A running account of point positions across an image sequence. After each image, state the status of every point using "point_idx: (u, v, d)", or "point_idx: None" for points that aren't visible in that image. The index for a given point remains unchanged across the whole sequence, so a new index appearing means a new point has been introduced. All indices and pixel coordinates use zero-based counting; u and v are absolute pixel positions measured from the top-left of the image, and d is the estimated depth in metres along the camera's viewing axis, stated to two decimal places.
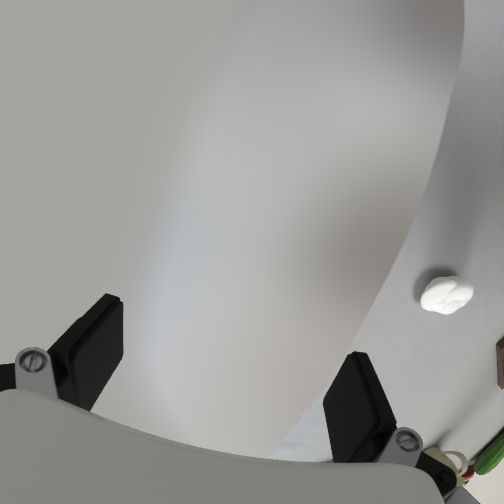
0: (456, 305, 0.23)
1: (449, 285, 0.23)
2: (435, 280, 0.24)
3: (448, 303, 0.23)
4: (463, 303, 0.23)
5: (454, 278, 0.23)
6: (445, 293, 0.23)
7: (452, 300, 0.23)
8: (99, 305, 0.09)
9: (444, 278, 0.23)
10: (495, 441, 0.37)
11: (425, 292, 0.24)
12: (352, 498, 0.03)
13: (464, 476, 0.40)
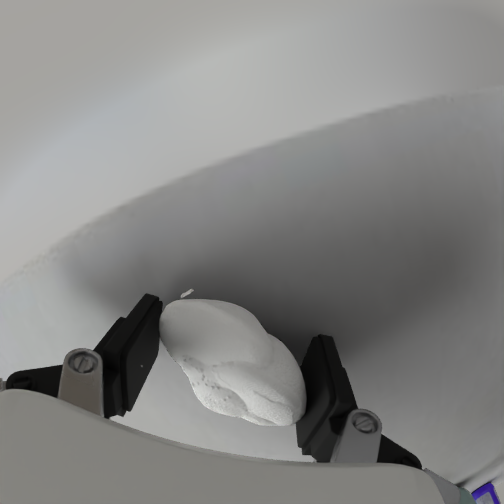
0: (230, 408, 0.09)
1: (246, 346, 0.08)
2: (229, 304, 0.09)
3: (213, 385, 0.09)
4: (252, 419, 0.09)
5: (279, 349, 0.09)
6: (220, 355, 0.08)
7: (227, 389, 0.09)
8: (142, 305, 0.10)
9: (252, 320, 0.09)
10: None
11: (180, 302, 0.09)
12: (352, 498, 0.03)
13: None
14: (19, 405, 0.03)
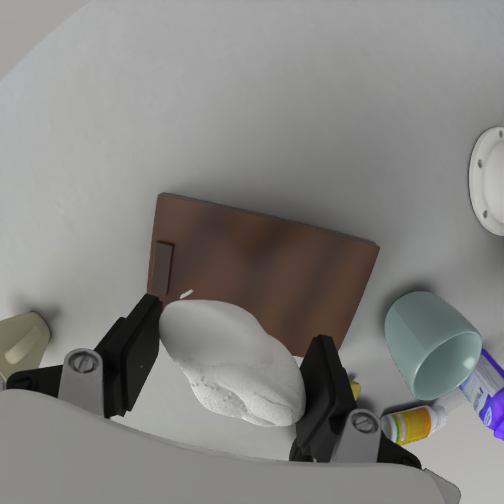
0: (230, 408, 0.09)
1: (245, 347, 0.08)
2: (229, 305, 0.09)
3: (212, 385, 0.09)
4: (251, 420, 0.09)
5: (278, 350, 0.09)
6: (219, 355, 0.08)
7: (226, 389, 0.09)
8: (142, 305, 0.10)
9: (252, 321, 0.09)
10: None
11: (179, 303, 0.09)
12: (352, 498, 0.03)
13: None
14: (19, 405, 0.03)
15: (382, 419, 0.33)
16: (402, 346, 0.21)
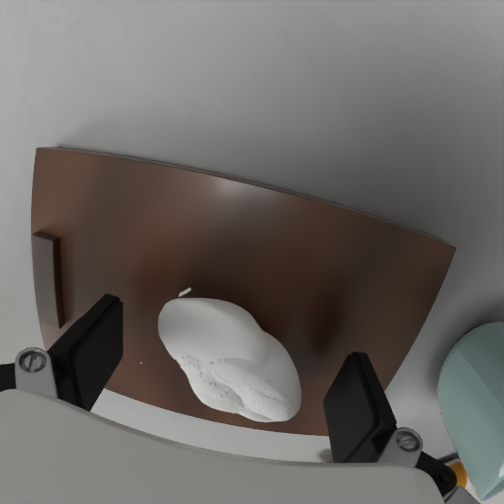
0: (227, 404, 0.09)
1: (241, 343, 0.08)
2: (226, 303, 0.10)
3: (210, 381, 0.09)
4: (248, 415, 0.10)
5: (274, 346, 0.10)
6: (216, 351, 0.09)
7: (224, 385, 0.09)
8: (99, 305, 0.09)
9: (248, 318, 0.09)
10: None
11: (178, 301, 0.09)
12: (352, 498, 0.03)
13: None
14: (19, 405, 0.03)
15: None
16: (481, 431, 0.08)
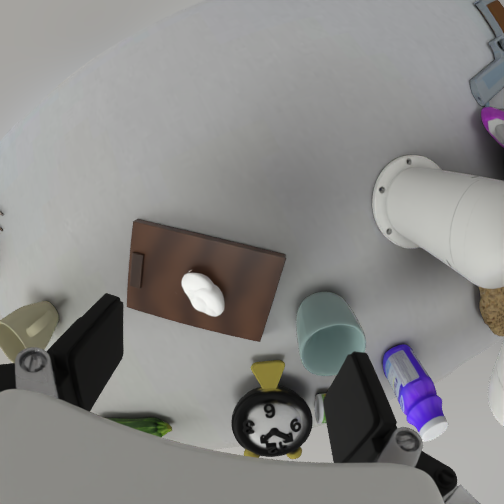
0: (201, 305, 0.34)
1: (204, 284, 0.33)
2: (201, 274, 0.35)
3: (196, 297, 0.34)
4: (208, 310, 0.35)
5: (215, 287, 0.35)
6: (198, 286, 0.34)
7: (200, 297, 0.34)
8: (99, 305, 0.09)
9: (207, 278, 0.34)
10: (127, 419, 0.48)
11: (188, 273, 0.34)
12: (352, 498, 0.03)
13: None
14: (19, 405, 0.03)
15: (315, 398, 0.44)
16: (298, 331, 0.33)
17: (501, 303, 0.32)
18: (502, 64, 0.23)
